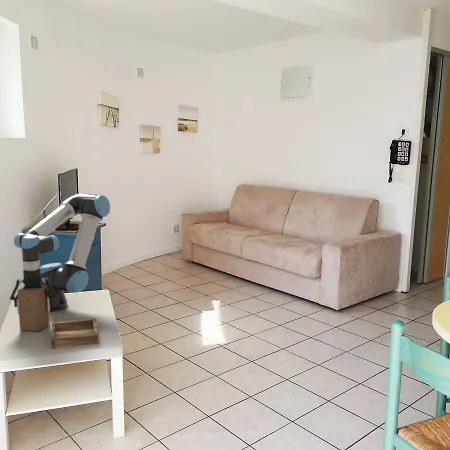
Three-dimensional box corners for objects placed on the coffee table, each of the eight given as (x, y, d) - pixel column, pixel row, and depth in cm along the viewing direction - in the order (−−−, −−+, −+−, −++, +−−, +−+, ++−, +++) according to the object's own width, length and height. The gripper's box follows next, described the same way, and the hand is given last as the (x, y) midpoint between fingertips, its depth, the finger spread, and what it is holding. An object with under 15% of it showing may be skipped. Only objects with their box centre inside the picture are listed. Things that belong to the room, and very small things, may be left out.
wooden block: (38, 332, 222) (36, 291, 218) (19, 330, 224) (16, 289, 220) (50, 324, 232) (48, 285, 228) (31, 322, 233) (29, 283, 230)
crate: (52, 330, 225) (51, 322, 224) (96, 326, 231) (95, 318, 230) (50, 348, 206) (50, 339, 205) (98, 343, 212) (98, 335, 211)
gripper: (1, 272, 215) (4, 317, 219) (59, 269, 223) (61, 312, 226) (3, 268, 222) (6, 311, 226) (59, 265, 230) (61, 307, 233)
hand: (33, 312), depth 226 cm, fingers closed on wooden block, 13 cm apart
